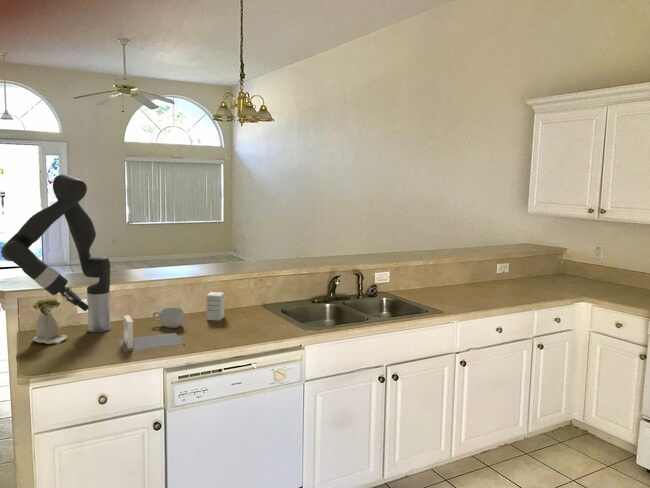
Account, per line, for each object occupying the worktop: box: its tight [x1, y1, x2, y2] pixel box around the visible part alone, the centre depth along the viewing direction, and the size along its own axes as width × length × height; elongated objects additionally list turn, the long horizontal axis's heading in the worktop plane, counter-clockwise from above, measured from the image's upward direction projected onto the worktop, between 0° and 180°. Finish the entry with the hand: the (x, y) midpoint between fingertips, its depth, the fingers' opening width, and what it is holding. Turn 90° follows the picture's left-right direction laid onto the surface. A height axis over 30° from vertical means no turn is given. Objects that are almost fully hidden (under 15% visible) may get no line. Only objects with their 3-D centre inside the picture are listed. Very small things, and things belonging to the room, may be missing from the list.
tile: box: [123, 314, 135, 348], centre depth 209 cm, size 10×2×11 cm, turn 30°
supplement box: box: [206, 291, 225, 321], centre depth 254 cm, size 7×7×13 cm
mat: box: [117, 332, 185, 353], centre depth 214 cm, size 16×24×1 cm, turn 120°
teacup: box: [152, 306, 185, 330], centre depth 238 cm, size 14×11×8 cm
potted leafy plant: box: [31, 297, 68, 345], centre depth 212 cm, size 12×13×18 cm
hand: (87, 308), depth 200 cm, fingers closed
